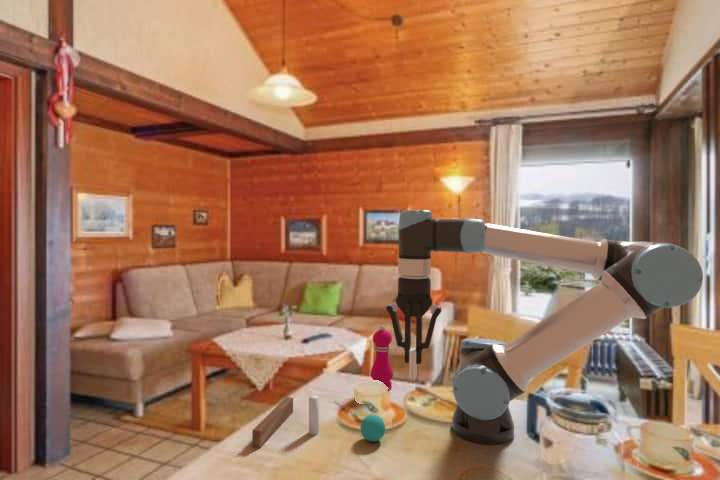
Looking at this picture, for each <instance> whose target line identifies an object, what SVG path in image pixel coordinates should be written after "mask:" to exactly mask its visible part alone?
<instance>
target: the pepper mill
mask: <svg viewBox="0 0 720 480" xmlns="http://www.w3.org/2000/svg"><path fill="white" fill-rule="evenodd" d="M392 340H393V337H392V334H391V332H390V331H389V330H386V327H385V325H382V324H381V325H380V326H379V330H376V331H375V332H374V333H373V335H372V341H373V343H374V351H375V358H374V359H375V360H374V362H373V364H372V367H371V370H370V377H371V379H372V381H373V380H379V381H381V382H383V383H384V384H385V385H386V386H387V387H388V388H389V390H388V391H390V390H391V389H392V388H393V386H392V385H393V384H392V383H393V382H392V381H391V380H392V379H393V378H394V370H393V367H392V364H391V363H390V362H391V361H390V359H389V358H390V357H389V351H390V350H391V345H390V344H391V343H392Z"/></svg>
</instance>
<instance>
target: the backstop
mask: <svg viewBox="0 0 720 480" xmlns="http://www.w3.org/2000/svg"><path fill="white" fill-rule="evenodd" d="M293 413H294V397H288V396H285V398H284V399H283V400H281V402H280V403H278V405H277V406H275V407H274V408H273V409H272V411H270V412H269V413H268V414H267V415H266V416H265V417H264V418H263V419H262V420H261V421H260V422H259V423H258V424H257V425H256V426H255V427H254V428H253V429H252V430H251V431H252V448H256V449H261V448H262V447H263V446H264V445H265V444H266V443H267V442H268V440H270V438H271V437H272V436H273V435H274V434H275V433H276V431H278V429H280V427H281V426H282V425H283V424H284V423H285V422H286V421H287V419H288V418H289V417H290V416H292V414H293Z"/></svg>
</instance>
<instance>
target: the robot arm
mask: <svg viewBox="0 0 720 480" xmlns="http://www.w3.org/2000/svg"><path fill="white" fill-rule="evenodd" d="M432 215H433V214H432V211H431V210H428V209H425V210H424V209H423V210H422V209H407V210H402V211H401V212H400V214H399V220H398V221H399V222H398V229H397V232H398V259H397V262H398V265H397V270H398V271H397V274H398V275H399V277H398V279H397V297H396V299H395V300H394V302H393V303H389V304H388V305H386V309H385V310H386V311H387V312H388V314H389V316H390V320H391V324H392V328H393V332H394V337H395V341H396V346H397V347H401V348H402V349H404V363H406V364H408V370H409V371H408V379H413V380H415V379H417V377H418V365H421V363H422V361H423V350H425V349H429V347H430V345H431V341H432V337H433V333H434V330H435V326H436V322H437V319H438V317H439V316H440V314H441V313H442V309H443V308H442V307H441V306H438V305H436V304H435V303H433V302H434V301H433V298H432V296H431V288H432V287H431V285H432V283H431V281H432V280H431V278H430V275H431V274H432V273H431V272H432V268H431V267H432V252H444V253H448V252H449V253H466V254H473V253H477V254H479V253H481V254H485V255H490V256H491V255H492V256H496V257H501V258H506V259H511V260H517V261H521V262H527V263H532V264H536V265H542V266H547V267H551V268H557V269H562V270H568V271H573V272H578V273H581V274H588V275H591V277H592V278H593V279H595V280H597V281H600V282H599V283H598V284H596V285H595V286H593V287H591V288H590V289H588V290H587V291H585V292H584V293H582V294H580V295H579V296H577V297H576V298H575V299H573V300H571V301H570V302H569V303H567V304H565V305H564V306H562V307H561V308H559V309H558V310H556V311H554V312H553V313H552V314H550V315H548V316H547V317H546V318H544V319H542V320H541V321H539V322H538V323H536V324H534V325H533V326H532V327H530V328H528V329H527V330H526V331H524V332H522V333H521V334H520V335H518V336H516V337H514V338H513V339H511V340H510V341H508V342H507V343H506V342H505V341H501V340H498V339H491V338H482V337H481V338H479V337H470V338H469V337H468V338H463V339H462V340H461V341H460V347H459V351H460V354H459V363H458V366H457V369H456V372H455V374H454V377H453V381H452V392H453V397H454V400H455V401H456V405H455V409H454V411H453V415H452V419H451V428H452V431H454V433H455V434H456V435H458V436H459V437H461V438H463V439H465V440H466V441H467V440H468V441H470V442H473V443H478V444H482V445H484V444H486V445H497V444H498V445H499V444H504V443H507V442H509V441H511V440H512V439H513V438H514V437H515V424H514V423H515V422H514V420H513V418H512V414H511V411H510V408H509V405H510V402H511V401H513V400H515V399H516V398H518V397H520V396H521V395H523V394H524V393H526V392H527V391H528V389H529V388H528V387H529V382H530V381H531V380H532V379H534V378H535V377H537V376H538V375H540V374H542V373H543V372H545V371H547V370H548V369H550V368H552V367H553V366H554V365H557V364H558V363H560V362H561V361H563V360H564V359H566V358H568V357H570V356H571V355H573V354H574V353H576V352H577V351H579V350H580V349H582V348H584V347H586V346H587V345H589V344H591V343H592V342H594V341H595V340H597V339H598V338H600V337H602V336H603V335H606V333H608V332H610V331H611V330H613V329H614V328H616V327H618V326H619V325H621V324H623V323H624V322H626V321H628V320H630V319H632V318H635V319H641V320H645V319H647V318H649V317H650V316H652V315H654V314H655V313H657V312H659V311H661V310H662V309H664V308H668V309H669V308H674V307H680V306H682V305H686V304H687V303H689V302H691V301H692V300H693V299H694V298H695V297H696V296H697V295H698V293H699V292H700V290H701V288H702V285H703V278H704V274H703V273H704V272H703V269H702V266H701V263H700V262H699V260H698V259H697V257H695V256H694V254H692V253H691V252H690V251H688V250H687V249H685V248H684V247H682V246H679V245H677V244H675V243H670V242H653V241H649V240H648V241H643V240H642V241H626V240H625V241H623V240H612V239H607V238H603V239H601V240H599V241H593V240H586V239H580V238H575V237H569V236H563V235H557V234H552V233H545V232H538V231H533V230H528V229H521V228H515V227H509V226H504V225H499V224H492V223H486V222H485V220H483V219H477V218H476V219H475V218H443V219H442V218H433V216H432ZM398 308H399V310H400V311H401V312H402V314H403V316H404V339H403V334H402V333H403V332H402V329H401V324H400V320H399V315H398V312H397V311H398ZM429 309H430V314H431V318H430V321H429V325H428V328H427V332H426V336H425V340H424V341H423V316H425V314H426V313H427V312H428V311H429ZM412 317H415V325H416V326H415V347H411V346H412Z"/></svg>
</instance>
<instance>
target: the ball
mask: <svg viewBox="0 0 720 480" xmlns="http://www.w3.org/2000/svg"><path fill="white" fill-rule="evenodd" d="M359 429H360V433H361V435H362V437H363V438H364V440H366V441H368V442H372V443H373V442H378V441H379V440H381V439H382V438H383V437H384V435H385V432H386V424H385V421H384V420H383V418H382V417H380V416H379V415H377V414H369V415H366V416H365V417H364V418H363V419H362V420H361V423H360V427H359Z"/></svg>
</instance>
